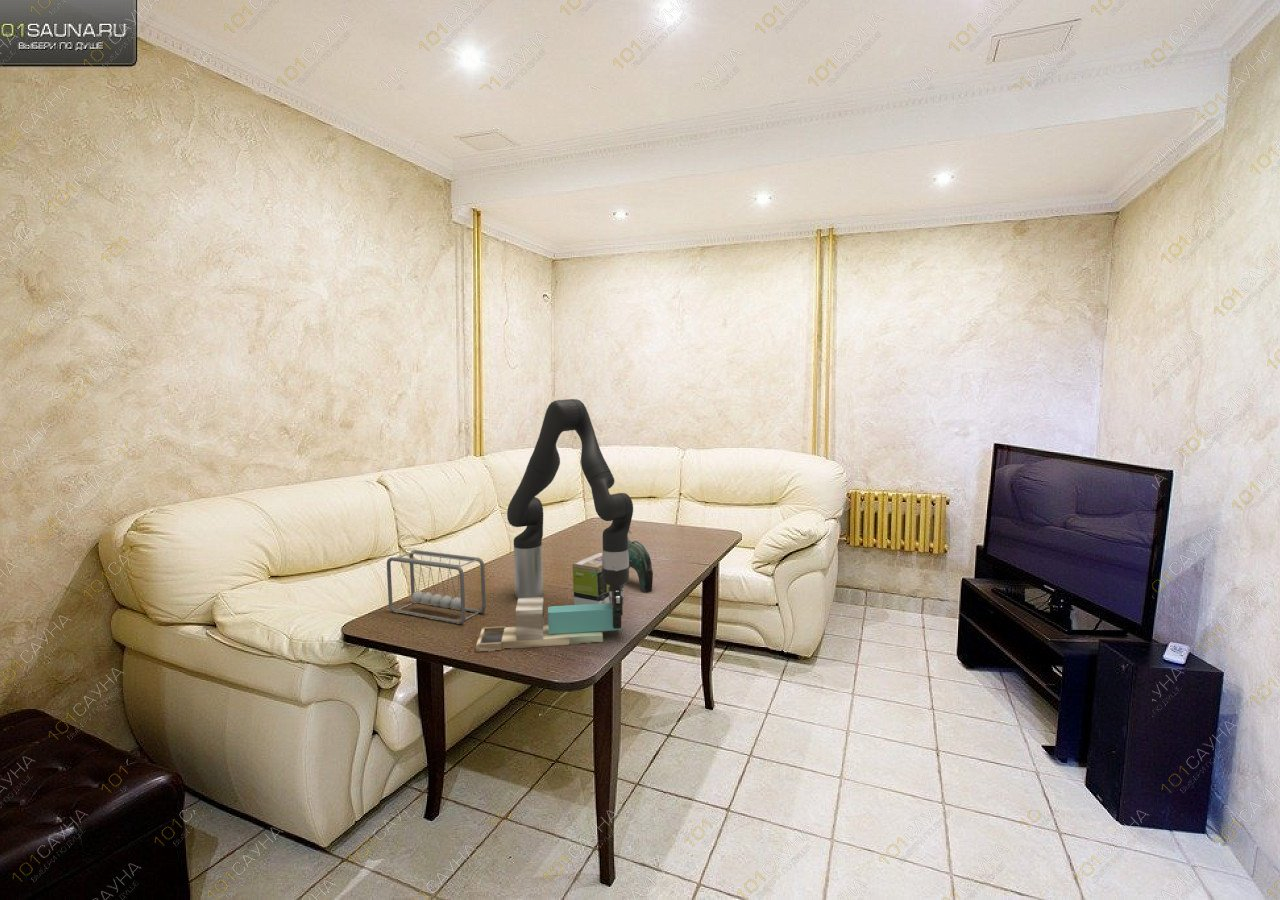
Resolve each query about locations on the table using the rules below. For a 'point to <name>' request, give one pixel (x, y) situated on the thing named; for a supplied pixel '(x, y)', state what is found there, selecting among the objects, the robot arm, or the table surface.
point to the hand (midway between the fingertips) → (616, 624)
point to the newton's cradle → (437, 598)
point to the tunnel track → (530, 631)
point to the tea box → (590, 581)
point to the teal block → (580, 618)
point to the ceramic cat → (641, 564)
